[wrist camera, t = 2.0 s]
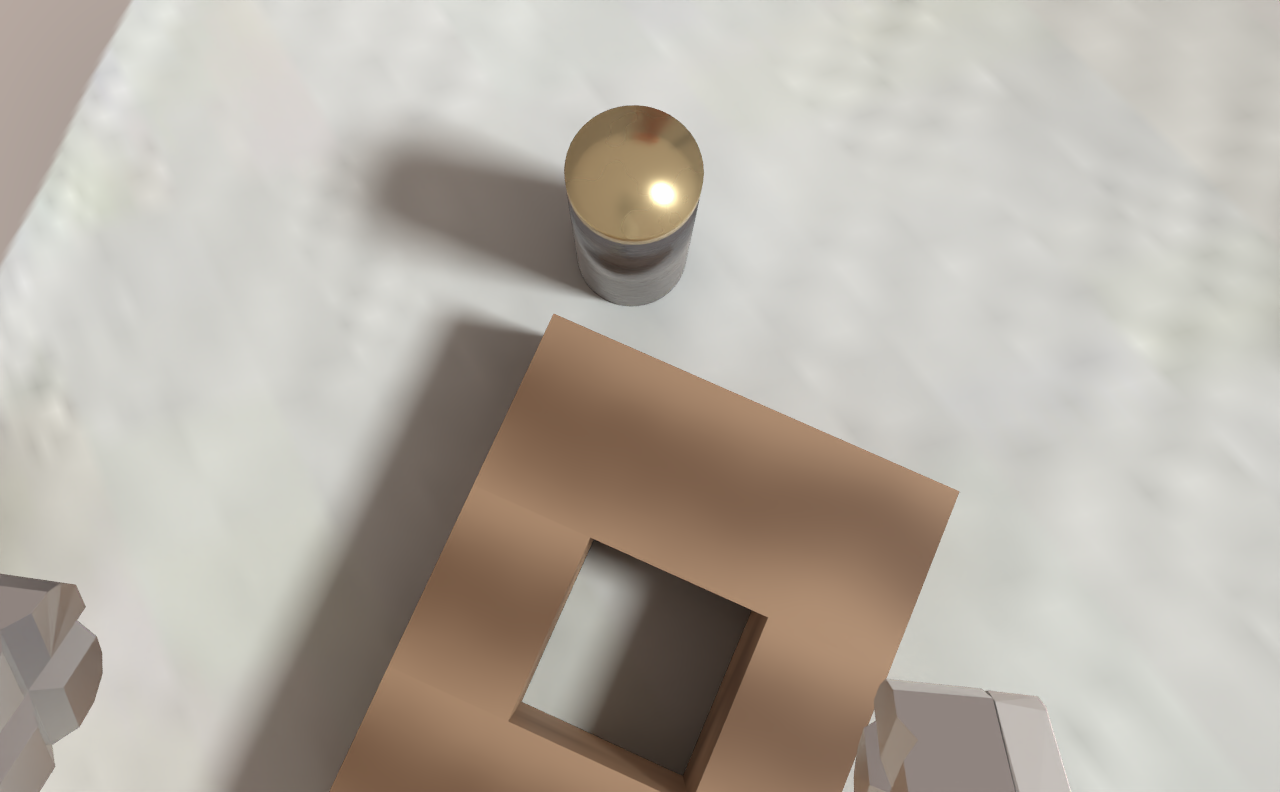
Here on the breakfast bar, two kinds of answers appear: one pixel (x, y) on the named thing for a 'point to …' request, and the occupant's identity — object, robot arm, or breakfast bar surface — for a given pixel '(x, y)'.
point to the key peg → (633, 202)
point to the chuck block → (674, 542)
